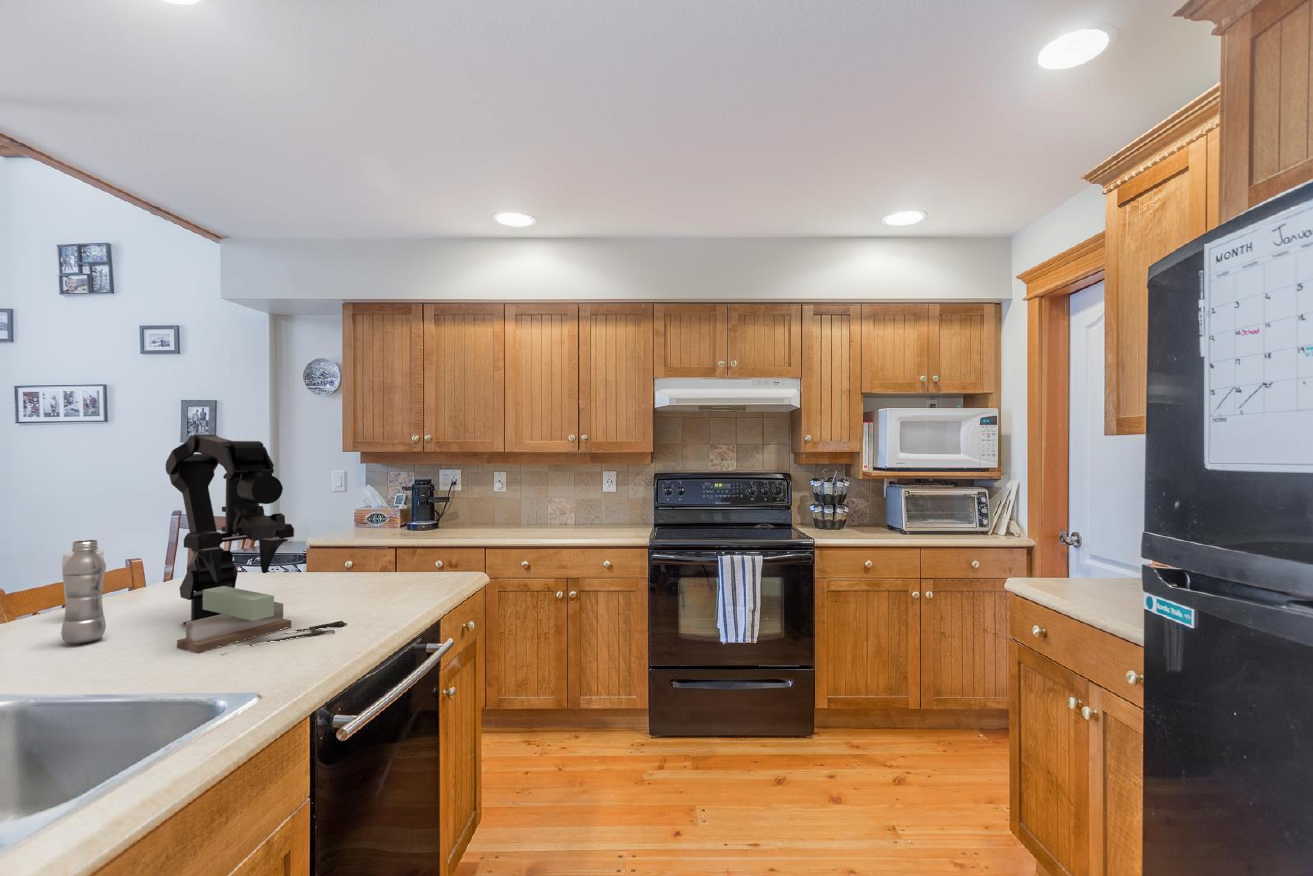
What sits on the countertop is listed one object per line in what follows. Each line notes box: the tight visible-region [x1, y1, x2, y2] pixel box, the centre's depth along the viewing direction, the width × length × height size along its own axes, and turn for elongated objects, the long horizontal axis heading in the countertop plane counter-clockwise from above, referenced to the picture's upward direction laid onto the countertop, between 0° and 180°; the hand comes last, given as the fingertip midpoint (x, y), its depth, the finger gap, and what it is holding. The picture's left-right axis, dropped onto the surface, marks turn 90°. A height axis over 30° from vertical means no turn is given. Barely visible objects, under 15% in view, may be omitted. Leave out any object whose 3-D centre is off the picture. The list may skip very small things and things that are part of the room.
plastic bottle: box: [60, 539, 107, 644], centre depth 119 cm, size 6×7×20 cm
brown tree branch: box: [220, 620, 348, 656], centre depth 121 cm, size 24×10×2 cm, turn 122°
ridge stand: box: [176, 601, 292, 654], centre depth 123 cm, size 7×18×5 cm, turn 155°
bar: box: [203, 586, 275, 621], centre depth 123 cm, size 18×4×4 cm, turn 63°
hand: (241, 577), depth 124 cm, fingers open, 9 cm apart
